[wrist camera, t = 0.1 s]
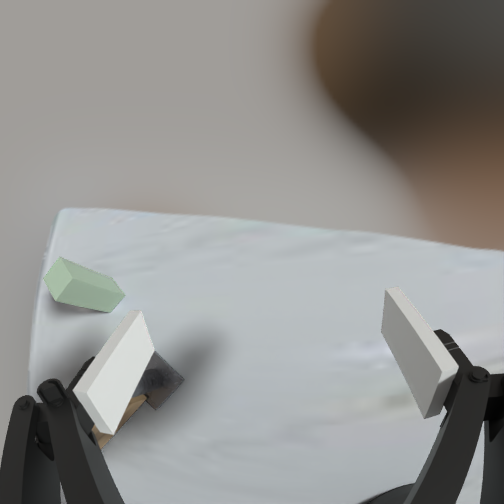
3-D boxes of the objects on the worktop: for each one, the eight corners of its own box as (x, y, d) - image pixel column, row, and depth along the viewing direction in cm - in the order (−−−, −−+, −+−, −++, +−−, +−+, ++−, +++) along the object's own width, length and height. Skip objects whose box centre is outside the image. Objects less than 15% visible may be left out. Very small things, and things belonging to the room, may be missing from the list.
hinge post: (184, 379, 29) (129, 399, 18) (157, 408, 29) (97, 436, 17) (152, 347, 31) (87, 349, 19) (127, 377, 30) (59, 388, 18)
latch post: (125, 295, 33) (72, 278, 23) (110, 312, 32) (55, 301, 23) (112, 278, 33) (59, 256, 24) (97, 295, 33) (43, 278, 24)
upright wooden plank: (134, 383, 29) (90, 393, 21) (149, 399, 28) (107, 414, 20) (84, 442, 27) (42, 458, 19) (97, 456, 27) (56, 475, 19)
